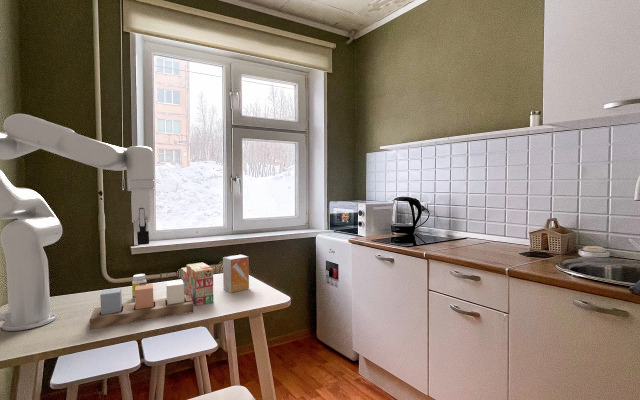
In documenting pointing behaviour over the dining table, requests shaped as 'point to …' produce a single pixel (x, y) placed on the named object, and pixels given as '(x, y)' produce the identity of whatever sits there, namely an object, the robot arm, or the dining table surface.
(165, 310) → the button board
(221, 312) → the dining table surface
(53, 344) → the dining table surface
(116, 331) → the dining table surface
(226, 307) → the dining table surface
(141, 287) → the peach block
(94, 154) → the robot arm
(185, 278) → the stack of blocks
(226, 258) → the small box
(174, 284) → the button cream
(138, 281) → the supplement bottle
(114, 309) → the button slate
